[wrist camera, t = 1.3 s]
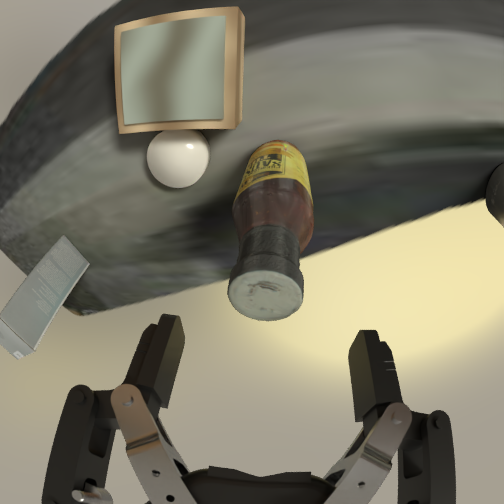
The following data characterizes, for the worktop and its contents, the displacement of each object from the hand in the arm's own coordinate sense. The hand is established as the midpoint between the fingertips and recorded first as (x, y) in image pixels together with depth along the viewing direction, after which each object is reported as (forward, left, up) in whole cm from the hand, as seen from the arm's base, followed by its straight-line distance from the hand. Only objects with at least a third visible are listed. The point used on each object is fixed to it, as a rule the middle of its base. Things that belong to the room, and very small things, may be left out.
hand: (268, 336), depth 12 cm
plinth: (+10, -11, -23) cm, 27 cm away
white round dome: (+11, -1, -23) cm, 25 cm away
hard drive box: (+39, +19, -23) cm, 49 cm away
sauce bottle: (0, 0, -23) cm, 23 cm away
